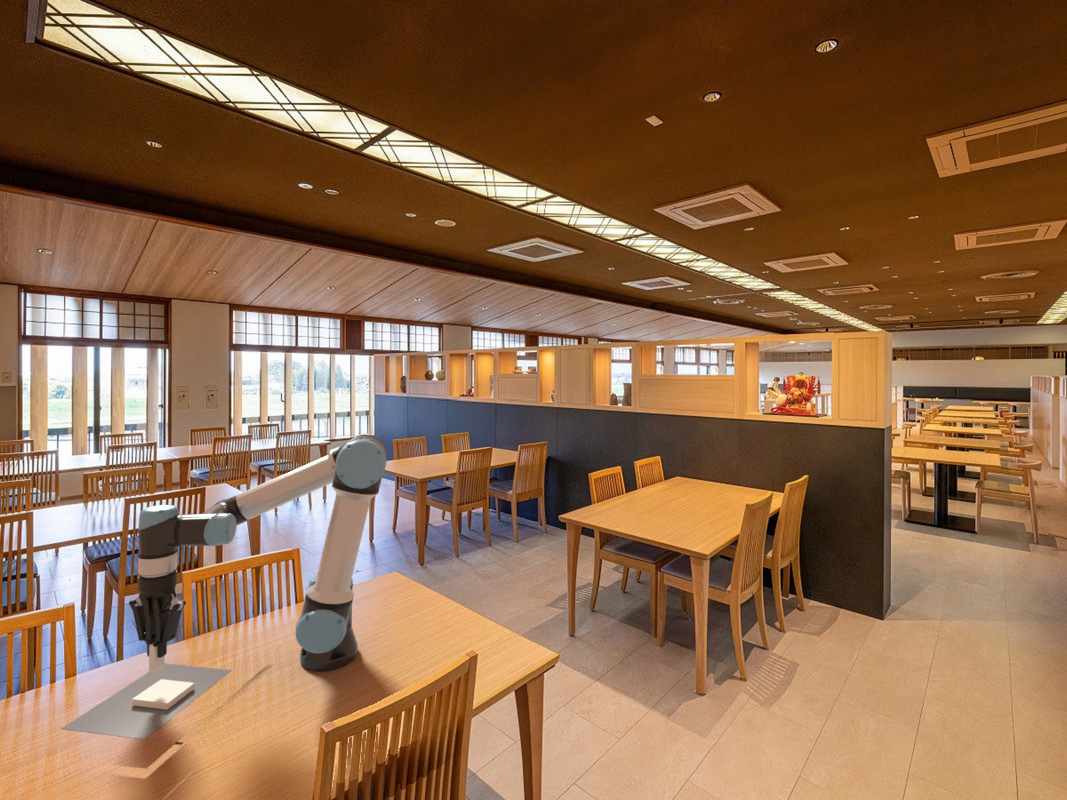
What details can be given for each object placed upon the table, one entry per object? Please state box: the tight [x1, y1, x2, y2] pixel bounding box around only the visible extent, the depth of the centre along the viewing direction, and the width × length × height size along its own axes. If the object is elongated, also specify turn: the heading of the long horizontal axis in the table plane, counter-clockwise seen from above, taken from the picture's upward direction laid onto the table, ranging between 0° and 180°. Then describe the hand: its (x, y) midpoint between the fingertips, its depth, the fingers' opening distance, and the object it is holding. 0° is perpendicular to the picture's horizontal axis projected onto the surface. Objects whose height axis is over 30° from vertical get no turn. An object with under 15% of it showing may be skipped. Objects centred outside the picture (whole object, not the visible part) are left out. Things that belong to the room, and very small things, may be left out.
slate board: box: [60, 662, 233, 740], centre depth 120 cm, size 20×26×1 cm
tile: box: [132, 679, 195, 710], centre depth 120 cm, size 2×8×9 cm
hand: (156, 669), depth 120 cm, fingers closed
